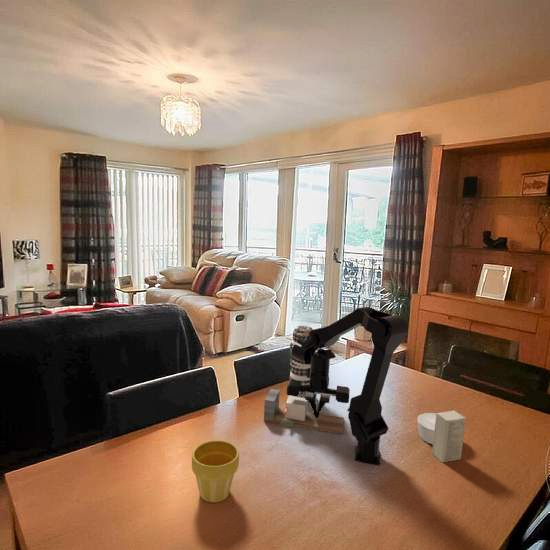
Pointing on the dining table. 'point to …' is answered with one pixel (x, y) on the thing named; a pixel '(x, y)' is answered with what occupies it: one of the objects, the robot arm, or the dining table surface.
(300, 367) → the decorative candle
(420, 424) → the ramekin
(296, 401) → the block
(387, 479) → the dining table surface
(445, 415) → the skincare box
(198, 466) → the plant pot
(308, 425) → the gauge board
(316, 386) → the robot arm
